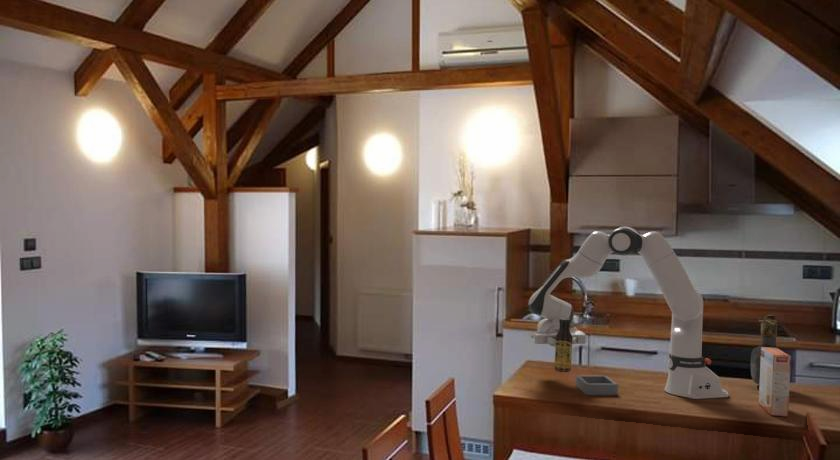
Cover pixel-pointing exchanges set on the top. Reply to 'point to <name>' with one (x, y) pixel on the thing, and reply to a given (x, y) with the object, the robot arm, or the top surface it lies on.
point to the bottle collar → (597, 385)
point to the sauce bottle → (563, 347)
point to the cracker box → (774, 381)
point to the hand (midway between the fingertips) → (564, 342)
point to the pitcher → (764, 344)
